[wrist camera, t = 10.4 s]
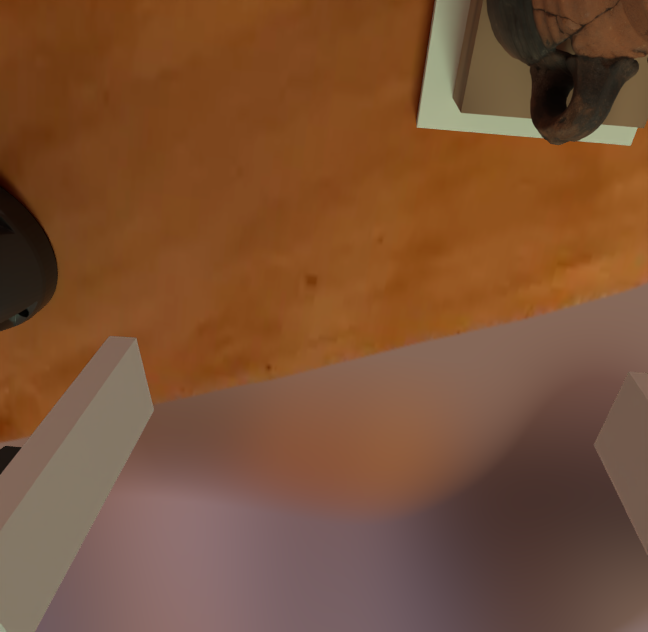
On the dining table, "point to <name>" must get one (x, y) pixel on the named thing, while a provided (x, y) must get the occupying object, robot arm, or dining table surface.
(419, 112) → the build board
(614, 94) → the pottery mug
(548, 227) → the dining table surface
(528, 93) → the walnut block
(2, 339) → the dining table surface
